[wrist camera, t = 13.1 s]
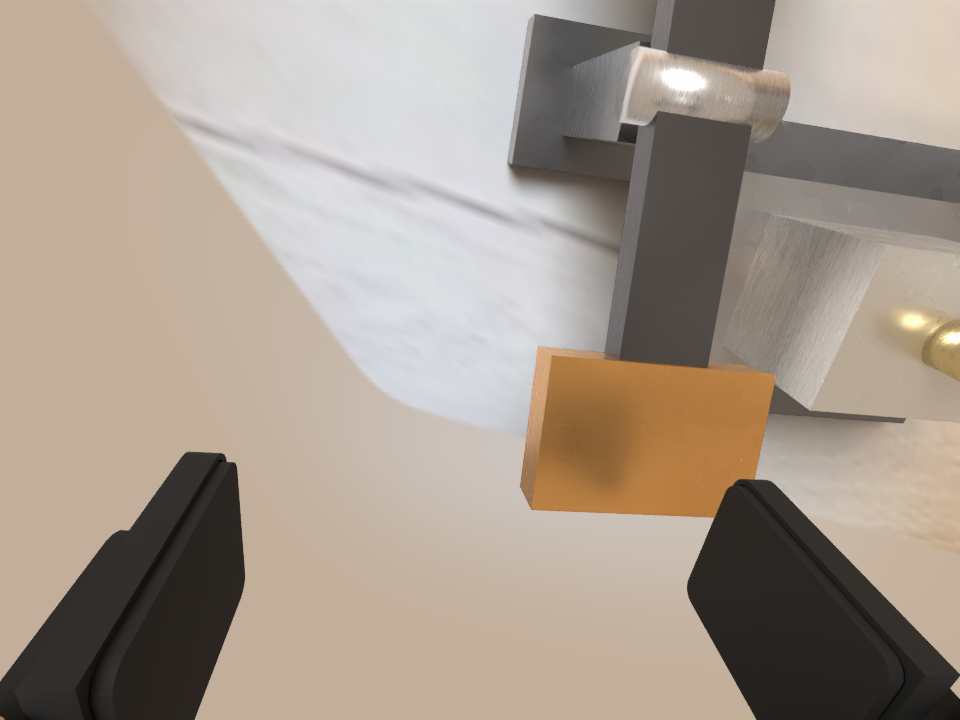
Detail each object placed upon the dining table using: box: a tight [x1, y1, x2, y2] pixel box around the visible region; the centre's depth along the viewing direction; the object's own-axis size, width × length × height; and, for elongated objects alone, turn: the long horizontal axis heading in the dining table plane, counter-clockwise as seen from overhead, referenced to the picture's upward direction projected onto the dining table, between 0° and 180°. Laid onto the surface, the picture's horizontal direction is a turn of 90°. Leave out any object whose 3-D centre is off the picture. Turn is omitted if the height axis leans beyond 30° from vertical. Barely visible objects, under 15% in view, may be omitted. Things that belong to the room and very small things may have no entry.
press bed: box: [508, 14, 960, 423], centre depth 20 cm, size 23×15×7 cm, turn 82°
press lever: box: [520, 0, 790, 518], centre depth 12 cm, size 6×21×2 cm, turn 172°
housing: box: [722, 214, 960, 423], centre depth 19 cm, size 8×6×8 cm
